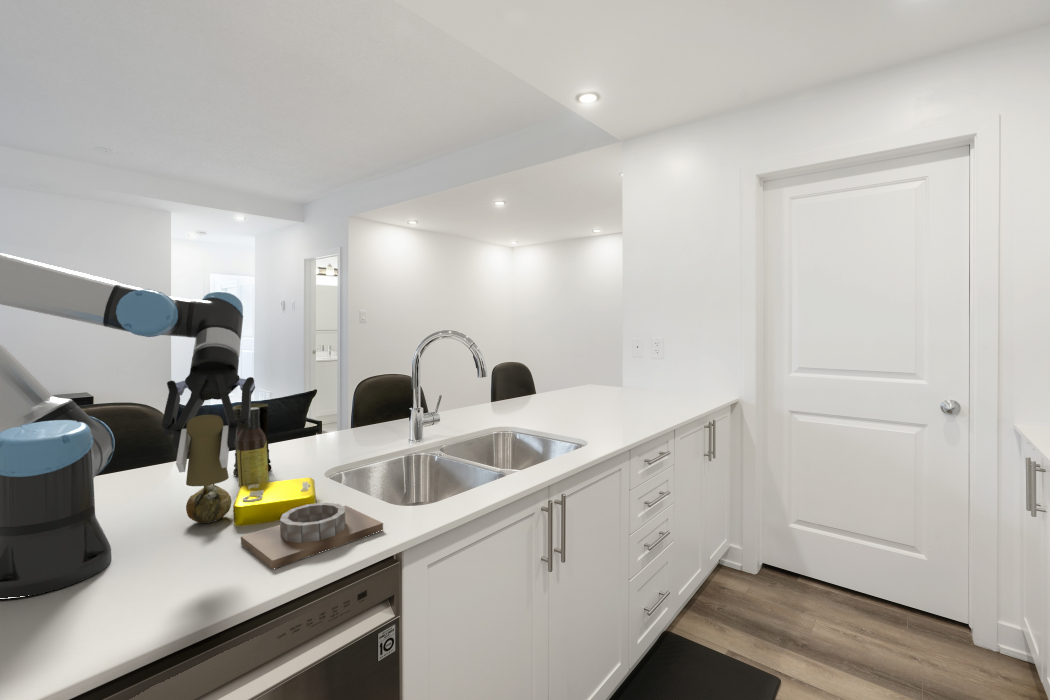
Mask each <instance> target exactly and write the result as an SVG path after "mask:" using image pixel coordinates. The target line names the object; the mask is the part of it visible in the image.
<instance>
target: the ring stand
mask: <svg viewBox="0 0 1050 700" xmlns="http://www.w3.org/2000/svg"><path fill="white" fill-rule="evenodd" d="M381 530H383V531H384V522H382V521H379V520H377V519H375V518H373V517H371V516H369V515H367V514H364V513H362V512H361V511H358V510H356V509H354V508H352V507H350V506H348V505H342V504H341V503H340V504H339V503H334V502H316V504H309V505H308V504H307V505H304V506H300V507H296V508H293V509H291V510H289V511H287V512H285V513H284V514H282V516H281V519H280V521H279V524H278V525H274V526H271V527H268V528H267V527H266V528H264V529H261V530H257V531H254V532H250V533H248V534H247V533H246V534H244V535H241V536H240V545H241V546H243V548H245V549H246V550H247V551H248V552H249V553H251V552H252V553H253V555H254V556H255V557H256V556H257V557H258V558H257V557H256V558H257V559H259V560H260V561H261V560H262V561H263V562H262V561H261V562H262V563H264V564H265V565H266V564H267V565H268V567H269V568H270V569H271V568H272V569H274V568H276V569H279V568H281V567H280V566H282V567H285V566H287V565H286V564H288V565H290V564H289V563H291V564H293V563H295V562H294V561H296V562H298V561H297V560H299V561H301V560H300V559H302V560H304V559H303V558H305V557H308V556H310V557H312V555H313V556H316V555H318V554H317V553H319V552H322V551H325V550H327V551H329V550H328V549H330V550H332V549H331V548H333V549H335V548H334V547H336V548H338V547H337V546H339V547H341V546H340V545H342V546H343V544H344V545H347V544H349V543H348V542H350V543H353V542H355V541H354V540H356V541H359V540H361V539H363V537H364V538H366V537H365V536H367V537H369V536H368V535H370V536H372V535H371V534H373V533H375V534H377V533H376V532H378V531H381ZM381 532H382V531H381ZM378 533H379V532H378ZM373 535H374V534H373ZM360 538H361V539H360ZM352 541H353V542H352ZM346 543H347V544H346ZM325 552H326V551H325ZM252 553H251V554H252ZM322 553H323V552H322ZM315 554H316V555H315ZM319 554H320V553H319ZM308 558H309V557H308ZM305 559H306V558H305ZM292 562H293V563H292ZM267 565H266V566H267ZM284 565H285V566H284ZM278 567H279V568H278ZM272 569H271V570H272ZM274 570H275V569H274Z"/></svg>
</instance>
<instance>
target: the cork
mask: <svg viewBox="0 0 1050 700" xmlns="http://www.w3.org/2000/svg"><path fill="white" fill-rule="evenodd" d="M223 426H224V421H223V418H222V417H221V416H219V415H216V414H200V415H196V416H195V417H193V418H191V419H190V420H189V421H188V422H187V426H186V429H187V432H188V434H189V435H190V443H189V450H188V460H187V470H186V479H185V484H186V486H189V487H204V486H207V485H213V484H214V485H215V484H220V483H222V482H225V481H227V480H228V479H229V472H228V467H227V468H222V466H221V463H220V450H221V441H222V436H221V434H222V431H223Z"/></svg>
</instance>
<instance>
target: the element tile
mask: <svg viewBox="0 0 1050 700" xmlns="http://www.w3.org/2000/svg"><path fill="white" fill-rule="evenodd" d="M316 498H317V496H316V486H315V480H314V478H312V477H302V478H301V477H300V478H293V479H285V480H284V479H283V480H277V481H269V482H267V483H259V484H251V485H245V486H243V487H241V488H240V487H239V489H238V491H237V495H236V497H235V499H234V503H233V505H232V506H233V507H232V508H233V509H232V511H233V514H232V515H233V526H235V527H247V526H252V525H258V524H259V525H261V524H266V523H275V522H280V519H281V516H282V514H284V513H285V512H287V511H289V510H291V509H293V508H296V507H300V506H304V505H307V504H308V505H309V504H316V503H317V499H316Z"/></svg>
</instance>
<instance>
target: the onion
mask: <svg viewBox="0 0 1050 700" xmlns="http://www.w3.org/2000/svg"><path fill="white" fill-rule="evenodd" d="M231 506H232V498H231V495H230V494H229V492H228V491H227V490H225V489H224V488H222V487H220V486H218V485H215V484H212V485H207V486H203V487H202V488H201V489H200V490H198V491H197V492H195V493H194V494H192V495H190V496H189V498H188V500H187V502H186V506H185V509H186V510H185V511H186V514H187V517H188V518H189V519H190V520H192V521H194V522H195V523H199V524H209V523H214V522H216V521H219V520H221V519H222V518H223V517H224V516H226V515H227V514H228V512H230V509H231Z"/></svg>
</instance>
